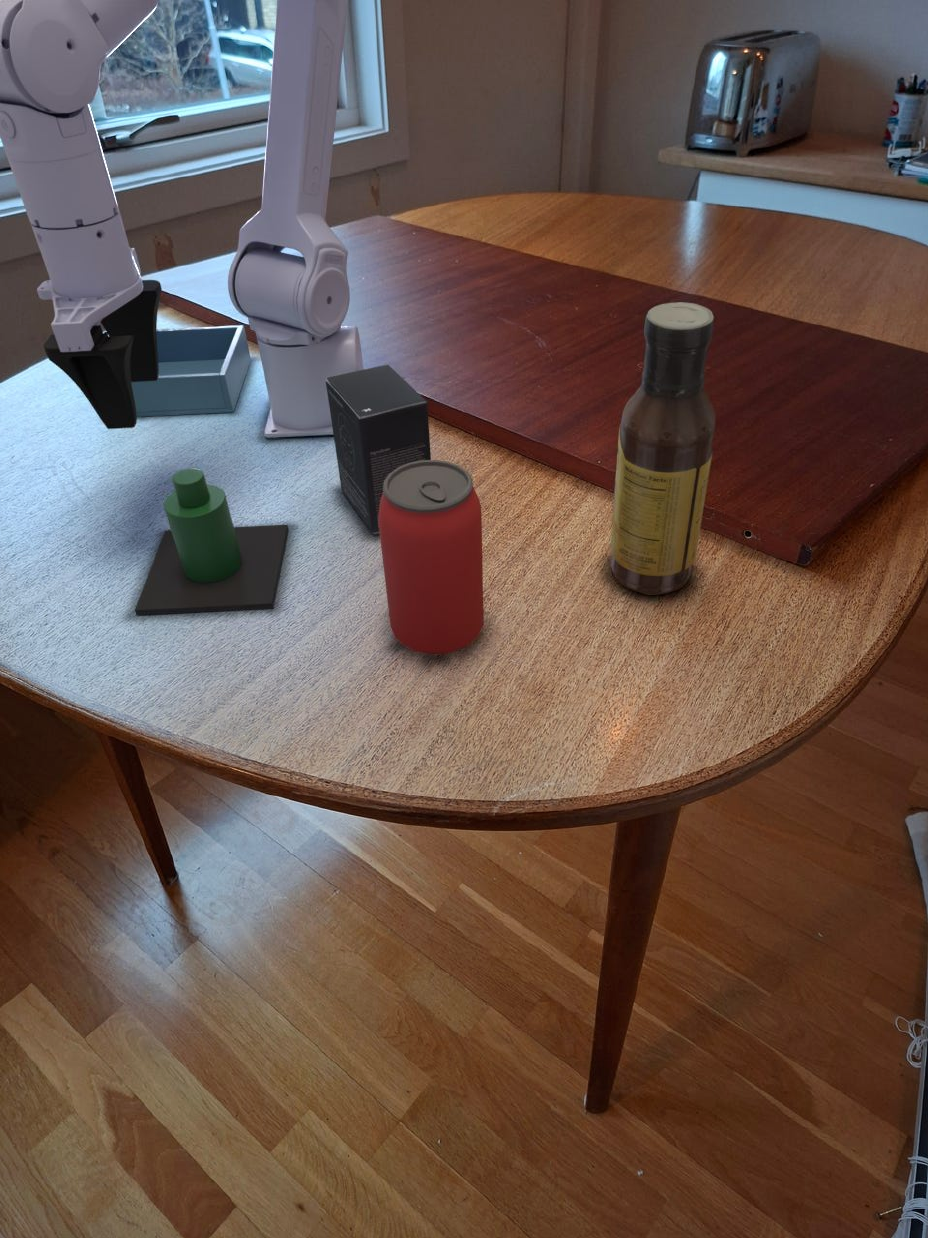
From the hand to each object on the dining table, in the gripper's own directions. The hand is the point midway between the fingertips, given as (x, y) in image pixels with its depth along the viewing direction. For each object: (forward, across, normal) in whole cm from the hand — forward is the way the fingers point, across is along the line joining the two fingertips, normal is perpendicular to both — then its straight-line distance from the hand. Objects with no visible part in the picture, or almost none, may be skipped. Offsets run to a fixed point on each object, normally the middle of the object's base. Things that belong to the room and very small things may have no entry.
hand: (134, 401), depth 66 cm
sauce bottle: (+10, +13, +39) cm, 42 cm away
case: (+10, -23, -3) cm, 25 cm away
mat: (+10, +9, +6) cm, 15 cm away
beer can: (+10, +17, +23) cm, 30 cm away
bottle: (+9, +9, +6) cm, 14 cm away
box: (+10, +1, +19) cm, 21 cm away
